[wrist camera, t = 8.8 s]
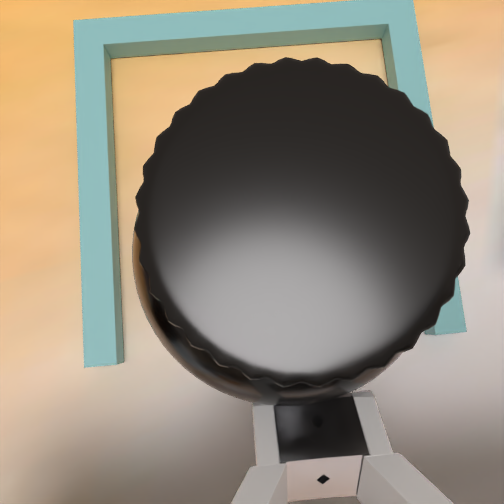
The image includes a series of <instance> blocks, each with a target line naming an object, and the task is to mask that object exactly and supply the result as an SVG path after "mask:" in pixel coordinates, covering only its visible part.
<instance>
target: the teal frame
mask: <svg viewBox="0 0 504 504" xmlns="http://www.w3.org/2000/svg"><path fill="white" fill-rule="evenodd" d="M73 23H74V55H75V88H76V120H77V152H78V184H79V216H80V249H81V281H82V313H83V345H84V368H85V367H95V366H106V365H117V364H120V363H123V362H124V350H123V328H122V305H121V283H120V260H119V238H118V216H117V193H116V171H115V148H114V126H113V103H112V81H111V58H122V57H136V56H150V55H163V54H177V53H191V52H204V51H218V50H232V49H245V48H259V47H273V46H286V45H300V44H313V43H327V42H341V41H354V40H368V39H382V46H383V53H384V59H385V66H386V73H387V80H388V86H389V87H390V88H393V89H397V90H399V91H402V92H404V93H405V94H406V95H407V97H408V98H409V99H410V101H411V103H412V104H413V106H414V107H416V108H418V109H420V110H422V111H424V112H425V113H427V114H428V115H429V117H430V119H431V122H432V125H433V120H432V114H431V108H430V102H429V96H428V90H427V83H426V77H425V71H424V65H423V59H422V53H421V46H420V40H419V34H418V28H417V22H416V16H415V9H414V3H413V0H353V1H339V2H325V3H310V4H296V5H282V6H268V7H254V8H240V9H225V10H211V11H197V12H183V13H169V14H155V15H140V16H126V17H112V18H98V19H84V20H73ZM433 128H434V127H433ZM460 332H467V330H466V324H465V318H464V312H463V306H462V300H461V293H460V287H459V281H458V276H457V278H456V279H455V291H454V297H453V298H452V299H451V300H450V301H449V302H447V303H446V304H444V305H443V306H442V307H441V310H440V314H439V317H438V320H437V323H436V325H434V326H433V327H431V328H430V329H428V330H425V334H431V335H439V334H450V333H460Z"/></svg>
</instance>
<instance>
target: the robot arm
mask: <svg viewBox="0 0 504 504" xmlns="http://www.w3.org/2000/svg"><path fill="white" fill-rule="evenodd" d="M252 414H253V428H254V442H255V456H256V466H250V468H249V470H248V471H247V473H246V475H245V477H244V479H243V481H242V483H241V485H240V487H239V488H238V490H237V492H236V494H235V496H234V498H233V500H232V502H231V504H288V502H294V501H303V500H311V499H319V498H333V497H349V496H357V499H358V500H359V502H360V503H361V504H454V503H453V502H452V501H451V500H450V499H448V498H447V497H446V496H445V495H444V494H443V493H442V492H441V491H440V490H439V489H438V488H437V487H436V486H435V485H434V484H432V483H431V482H430V481H429V480H428V479H427V478H426V477H425V476H424V475H423V474H422V473H421V472H420V471H419V470H417V469H416V468H415V467H414V466H413V465H412V464H411V463H410V462H409V461H408V460H407V459H406V458H405V457H404V456H403V455H401V454H400V453H393V450H392V447H391V444H390V441H389V438H388V435H387V432H386V429H385V426H384V423H383V420H382V418H381V415H380V412H379V409H378V406H377V403H376V400H375V397H374V394H373V393H372V392H371V391H361V392H351V393H350V392H349V393H347V394H345V395H342V396H339V397H337V398H334V399H331V400H327V401H323V402H319V403H315V404H308V405H301V406H273V405H264V404H258V403H253V402H252Z"/></svg>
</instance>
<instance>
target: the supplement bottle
mask: <svg viewBox="0 0 504 504" xmlns="http://www.w3.org/2000/svg"><path fill="white" fill-rule="evenodd" d="M143 176H144V182H143V184H142V185H141V187H140V189H139V191H138V193H137V195H136V197H135V198H136V203H137V206H138V209H139V210H138V214H137V217H136V222H135V227H134V233H133V244H132V262H133V272H134V279H135V284H136V289H137V293H138V296H139V299H140V302H141V305H142V308H143V310H144V313H145V315H146V317H147V320H148V321H149V323H150V325H151V327H152V329H153V331H154V332H155V334H156V335H157V337H158V338H159V340H160V341H161V343H162V344H163V346H164V347H165V348H166V349H167V350H168V352H169V353H170V354H171V355H172V356H173V357H174V358H175V359H176V360H177V361H178V362H179V363H180V364H181V365H182V366H183V367H184V368H185V369H186V370H188V371H189V372H190V373H191V374H193V375H194V376H195V377H196V378H198V379H200V380H201V381H203V382H204V383H206V384H207V385H209V386H211V387H213V388H215V389H217V390H219V391H221V392H223V393H225V394H228V395H230V396H233V397H235V398H238V399H242V400H245V401H249V402H253V403H258V404H264V405H273V406H301V405H308V404H315V403H319V402H323V401H327V400H331V399H334V398H337V397H339V396H342V395H345V394H347V393H349V392H351V391H354V390H356V389H358V388H360V387H361V386H363V385H365V384H366V383H368V382H370V381H371V380H373V379H374V378H375V377H377V376H378V375H379V374H381V373H382V372H383V371H385V370H386V369H387V368H388V367H389V366H390V365H391V364H392V363H393V362H394V361H395V360H396V359H397V358H398V357H399V356H400V355H401V354H402V353H403V352H405V351H408V350H410V349H413V347H414V345H415V344H416V342H417V340H418V338H419V336H420V334H421V333H422V332H423V331H425V330H428V329H430V328H431V327H433V326H434V325H436V323H437V320H438V317H439V314H440V310H441V307H442V306H443V305H444V304H446V303H447V302H449V301H450V300H451V299H452V298H453V297H454V291H455V279H456V278H457V276H458V275H459V274H460V273H461V271H462V270H463V268H464V267H465V254H464V246H465V243H466V242H467V240H468V238H469V235H470V230H469V226H468V223H467V220H466V217H465V215H466V210H467V208H468V202H469V200H468V198H467V196H466V194H465V192H464V190H463V188H462V187H461V169H460V167H459V166H458V164H457V163H456V162H455V161H454V160H453V159H452V157H451V156H450V151H449V146H448V141H447V139H446V138H444V137H443V136H442V135H441V134H440V133H439V132H437V131H436V130H435V129H434V128H433V125H432V122H431V119H430V117H429V115H428V114H427V113H425V112H424V111H422V110H420V109H418V108H416V107H414V106H413V104H412V103H411V101H410V99H409V98H408V97H407V95H406V94H405V93H404V92H402V91H399V90H397V89H393V88H390V87H388V86H387V85H386V84H385V83H384V81H383V80H382V79H381V78H380V77H378V76H376V75H371V74H363V73H360V72H359V71H357V70H356V69H355V68H354V67H352V66H351V65H349V64H330V63H327V62H326V61H325V60H322V59H320V58H312V59H307V60H304V61H300V60H296V59H292V58H287V57H285V58H283V59H280V60H278V61H276V62H275V63H272V64H266V63H254V64H253V65H251V66H249V67H248V68H247V69H246V70H245V71H243V72H240V73H231V74H225V75H224V76H223V77H222V78H221V79H220V80H219V82H218V83H217V84H216V85H215V86H212V87H208V88H205V89H202V90H200V91H198V93H197V94H196V95H195V97H194V98H193V100H192V102H191V103H190V104H189V105H187V106H185V107H183V108H181V109H180V110H178V111H176V112H175V114H174V116H173V119H172V123H171V125H170V127H169V128H167V129H166V130H165V131H163V132H162V133H161V134H160V135H159V136H158V137H157V138H156V142H155V148H154V153H153V155H152V156H151V157H150V158H149V159H148V160H147V161H146V163H145V164H144V165H143Z"/></svg>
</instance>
